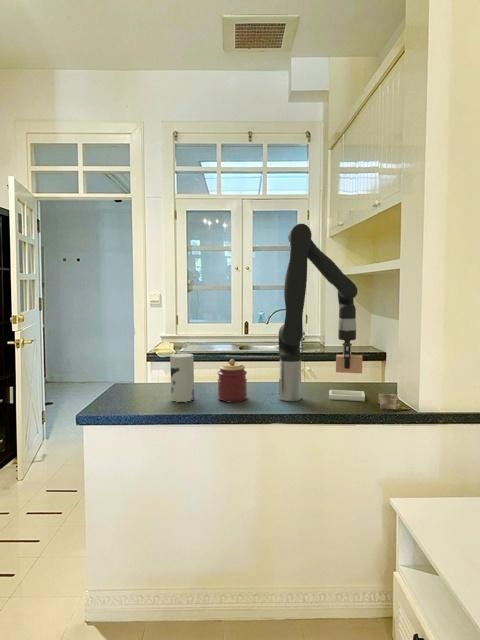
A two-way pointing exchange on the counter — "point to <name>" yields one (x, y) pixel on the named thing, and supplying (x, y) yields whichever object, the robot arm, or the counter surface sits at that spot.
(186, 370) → the container
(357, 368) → the block
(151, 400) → the counter surface
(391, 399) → the dock
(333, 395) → the tray
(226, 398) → the canister
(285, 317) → the robot arm
